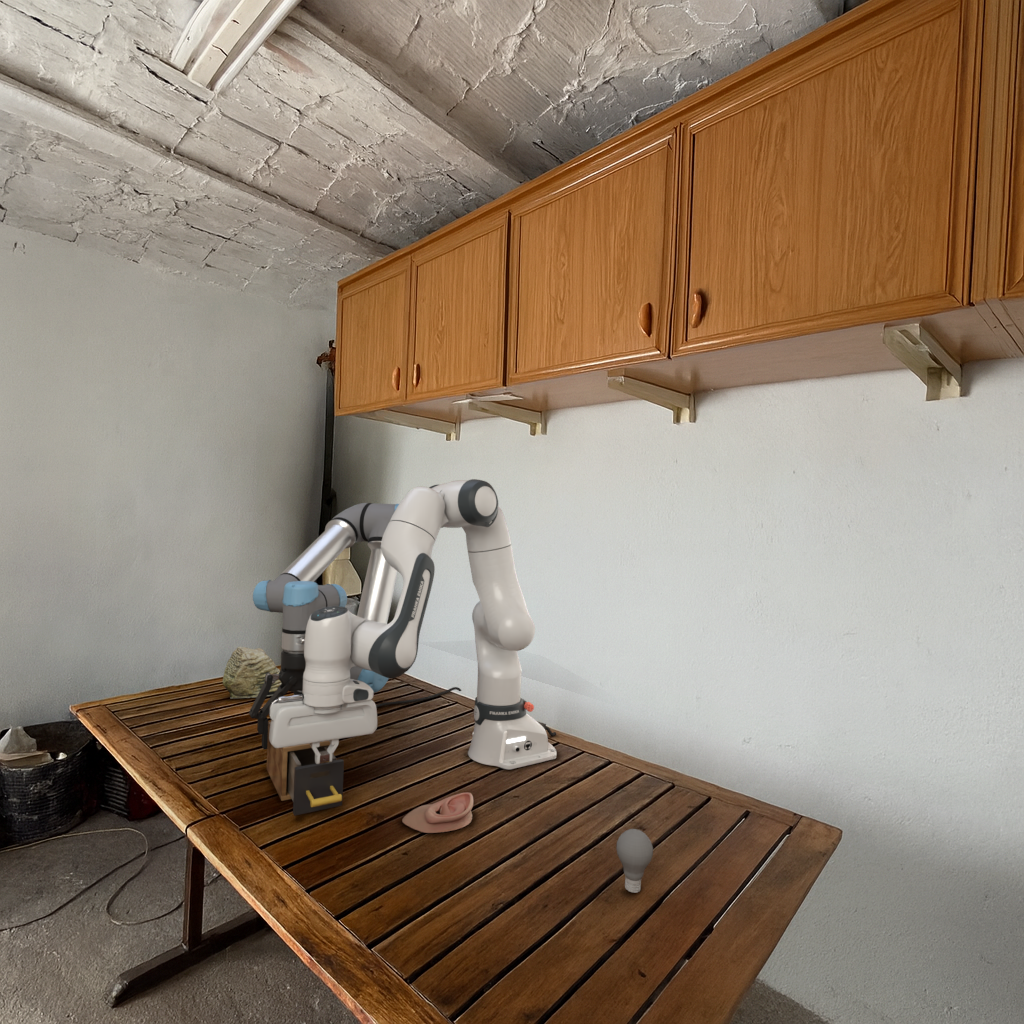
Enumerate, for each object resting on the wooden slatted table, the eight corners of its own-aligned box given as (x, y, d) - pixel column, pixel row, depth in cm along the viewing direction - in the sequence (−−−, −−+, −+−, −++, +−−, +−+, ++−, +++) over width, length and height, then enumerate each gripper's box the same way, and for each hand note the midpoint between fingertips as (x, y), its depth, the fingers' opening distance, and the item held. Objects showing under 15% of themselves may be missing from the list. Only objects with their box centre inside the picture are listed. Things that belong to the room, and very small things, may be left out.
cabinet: (332, 790, 137) (334, 740, 136) (281, 801, 131) (283, 748, 131) (313, 761, 151) (315, 715, 151) (266, 769, 146) (268, 722, 145)
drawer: (350, 818, 123) (352, 772, 123) (300, 829, 119) (302, 781, 118) (322, 775, 142) (324, 734, 142) (278, 783, 137) (279, 741, 137)
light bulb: (610, 879, 108) (613, 822, 108) (644, 879, 109) (647, 822, 109) (619, 902, 102) (622, 840, 102) (655, 901, 103) (658, 840, 103)
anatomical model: (396, 808, 122) (417, 782, 133) (395, 828, 122) (416, 801, 133) (463, 818, 119) (478, 791, 130) (462, 839, 119) (477, 810, 131)
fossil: (218, 695, 195) (220, 647, 195) (278, 685, 208) (279, 640, 207) (228, 703, 189) (230, 653, 188) (289, 692, 201) (290, 645, 201)
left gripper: (242, 658, 135) (239, 757, 135) (357, 648, 148) (353, 739, 148) (237, 650, 141) (234, 745, 142) (347, 642, 154) (344, 729, 154)
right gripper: (273, 702, 115) (270, 778, 115) (381, 690, 125) (378, 759, 126) (266, 693, 120) (264, 765, 121) (371, 681, 131) (368, 747, 131)
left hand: (295, 742), depth 145 cm, fingers open, 13 cm apart
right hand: (323, 762), depth 123 cm, fingers closed
